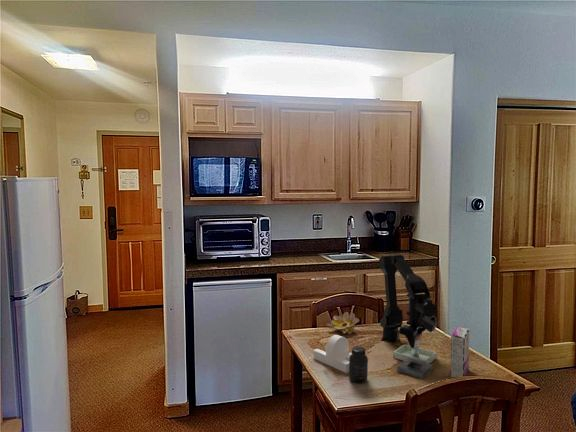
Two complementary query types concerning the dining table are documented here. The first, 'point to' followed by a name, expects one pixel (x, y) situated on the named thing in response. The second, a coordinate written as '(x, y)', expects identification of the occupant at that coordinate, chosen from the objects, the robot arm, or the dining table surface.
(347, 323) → the decorative flower
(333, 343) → the white tape roll holder
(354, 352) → the supplement bottle
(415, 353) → the salt shaker
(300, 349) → the dining table surface
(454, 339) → the candy bar box
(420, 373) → the collar
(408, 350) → the tray
